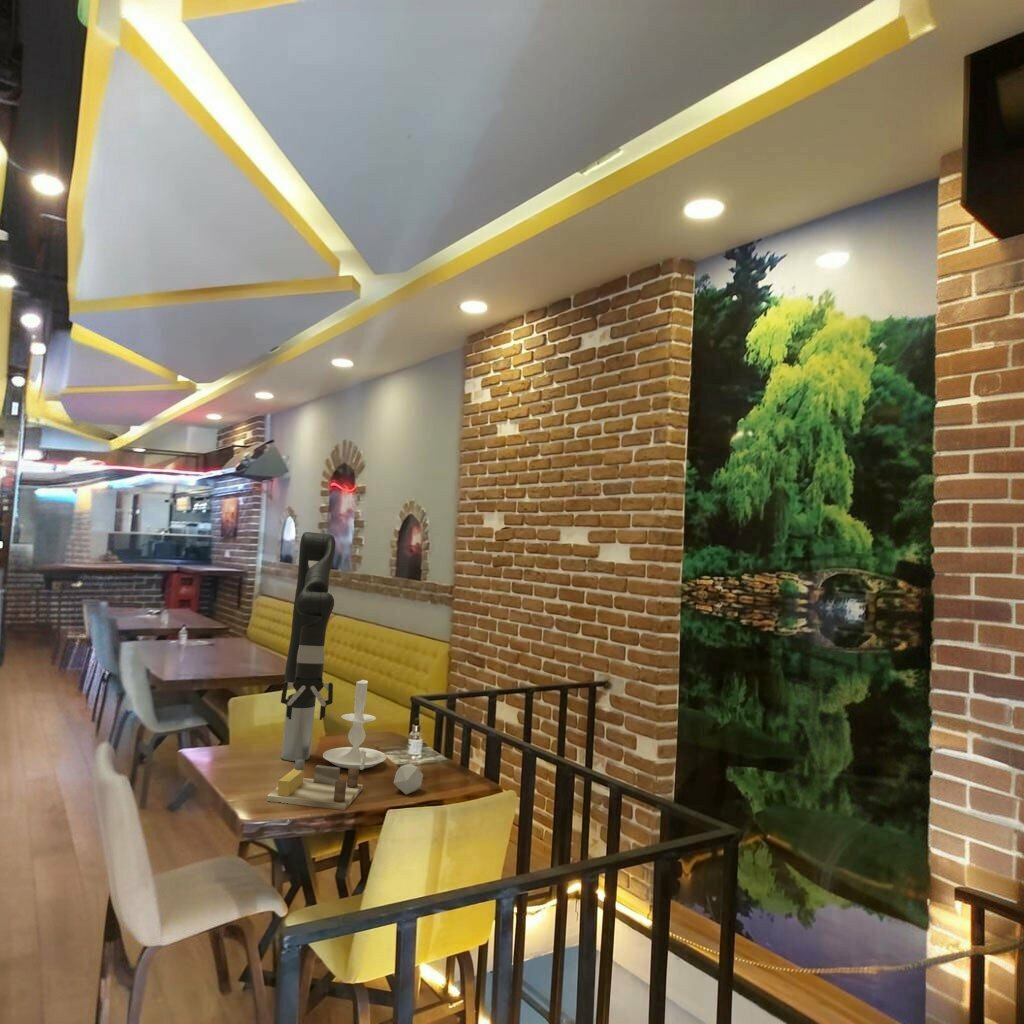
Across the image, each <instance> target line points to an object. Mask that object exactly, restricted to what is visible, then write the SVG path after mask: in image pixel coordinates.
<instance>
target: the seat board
mask: <svg viewBox="0 0 1024 1024" xmlns="http://www.w3.org/2000/svg"><path fill="white" fill-rule="evenodd" d="M347 770H348V771H347V772H348V773H347V781H346V780H340V774H341V767H339V766H328V765H320V764H318V765H315V767H314V773H313V778H309V777H307V778H306V777H303V784H301V785H300V786H299V787H298V788H297V789H296V790H295V791H294V792H292V793H291V794H290V795H289V796H281V795H277V794H278V786H276V788H275V789H274V790H272V791H271V792H270V793H269V794H268V795H267V794H266V795H267V796H266V802H269V801H270V803H271V802H272V803H278V802H281V804H287V803H288V804H289V805H296V806H297V805H298V806H307V807H313V808H315V807H316V808H322V809H323V808H324V809H332V810H340V811H341V810H342V811H346V809H347V808H348V807H349V806H350V805H351V803H353V802H354V800H355V799H356V798H357V796H358V795H360V793H361V791H362V790H363V786H364V785H363V784H359V773H360V769H358V768H348V769H347Z"/></svg>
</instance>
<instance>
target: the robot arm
mask: <svg viewBox="0 0 1024 1024" xmlns="http://www.w3.org/2000/svg"><path fill="white" fill-rule="evenodd" d="M335 550H336V539H335V537H334V536H333V534H330V533H329V534H328V533H323V532H310V531H305V532H303V534H302V535H301V539H300V541H299V553H298V567H297V568H298V570H297V580H296V589H295V594H294V603H293V608H292V609H293V611H292V621H291V632H290V633H291V634H290V642H289V646H288V647H289V648H288V652H287V658H286V664H285V672H284V679H285V681H283V685H282V692H281V697H280V703H281V704H283V705H286V707H285V717H284V726H283V736H282V737H283V738H282V744H281V755H280V756H281V759H282V760H284V761H290V762H295V761H296V760H297V759H303V760H305V761H307V760H309V759H310V758H311V750H312V740H313V732H314V731H313V729H314V719H315V709H316V708H315V707H316V699H317V700H318V702H319V703H320V709H319V721H323V719H324V718H326V717H325V716H326V708H327V706H328V705H332V704H333V697H334V684H333V682H332V681H331V682H325V683H324V682H323V676H324V674H323V673H324V664H325V663H324V662H325V641H326V631H327V628H328V627H327V626H328V623H329V620H330V617H331V616H332V612H333V609H334V607H335V599H334V597H333V595H332V594H331V592H330V593H329V583H330V573H331V571H332V566H333V562H334V556H335V552H336V551H335ZM310 561H313V562H316V563H315V564H313V565H312V566H311V567H310V565H309V562H310ZM291 687H293V688H294V690H295V693H292V694H289V695H288V696H287V693H288V692H287V691H289V690H290V689H291ZM324 688H325V690H326V691H327V699H326V700H325V699H324V698H323V696H322V695H321V693H320V692H321V690H323V689H324Z"/></svg>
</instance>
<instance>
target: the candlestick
mask: <svg viewBox="0 0 1024 1024" xmlns="http://www.w3.org/2000/svg"><path fill="white" fill-rule="evenodd" d="M355 683H356V684H355V692H354V700H353V701H354V707H353V711H354V713H345V714H343V715H341V716H340V718H341V719H343V720H344V721H347V722H351V724H352V725H351V728H350V729H349V731H348V733H347V739H348V742H349V743H350V745H351V746H346V747H344V746H343V747H336V748H335V747H334V748H331V749H327V750H326V751H324V752H323V753H322V757H323V759H324V760H326V761H328V762H330V763H331V764H333V765H335V767H338V768H344V769H349V768H358V769H359V771H360V770H361V771H363V770H364V769H368V768H372V767H375V766H376V765H379V764H380V763H383V762H384V761H386V759H387V755H386V754H385V753H383V752H382V751H379V750H376V749H374V748H368V747H360V745H362V743H364V741H365V739H366V736H367V734H366V731H365V729H364V724H365V723H368V722H373V721H375V720H377V717H376V716H375V715H371V714H367V713H364V712H365V707H366V706H367V705H366V704H367V695H368V694H367V693H368V686H369V685H368V683H369V681H368V680H366V679H361V680H358V681H356V682H355Z"/></svg>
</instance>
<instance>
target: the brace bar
mask: <svg viewBox="0 0 1024 1024" xmlns="http://www.w3.org/2000/svg"><path fill="white" fill-rule="evenodd" d="M305 761H306V760H303V759H297V760H296V761H294V768H293V769H291V770H290V771H289V772H288V773H286V774H285V775H284V776H283V777H282V778H279V780H278V786H277V787H278V794H277V795H281V796H289V795H290V794H291V793H292V792H294V791H295V790H296V789H297V788H298V787H299V786H300V785H301V784H303V778H305V777H304V776H305Z"/></svg>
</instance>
